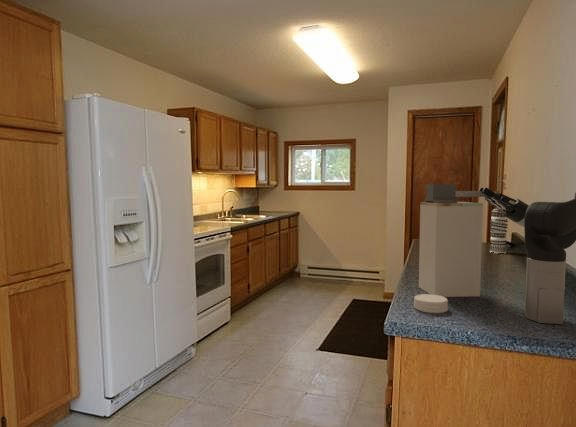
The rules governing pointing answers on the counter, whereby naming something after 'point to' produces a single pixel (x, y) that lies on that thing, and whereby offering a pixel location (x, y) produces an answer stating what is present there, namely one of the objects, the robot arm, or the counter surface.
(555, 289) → the robot arm
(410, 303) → the counter surface
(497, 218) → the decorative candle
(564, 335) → the counter surface
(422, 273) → the cabinet
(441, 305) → the coaster
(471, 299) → the counter surface
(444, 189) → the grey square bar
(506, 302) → the counter surface
